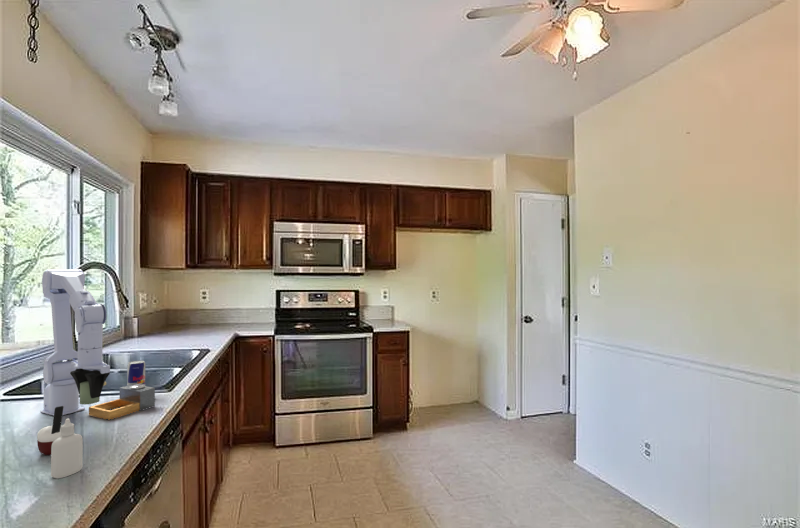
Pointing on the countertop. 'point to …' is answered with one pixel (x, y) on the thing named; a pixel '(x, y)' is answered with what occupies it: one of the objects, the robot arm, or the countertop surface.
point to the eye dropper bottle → (66, 452)
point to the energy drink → (136, 372)
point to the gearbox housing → (126, 402)
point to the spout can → (87, 394)
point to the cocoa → (50, 433)
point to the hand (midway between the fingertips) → (89, 396)
